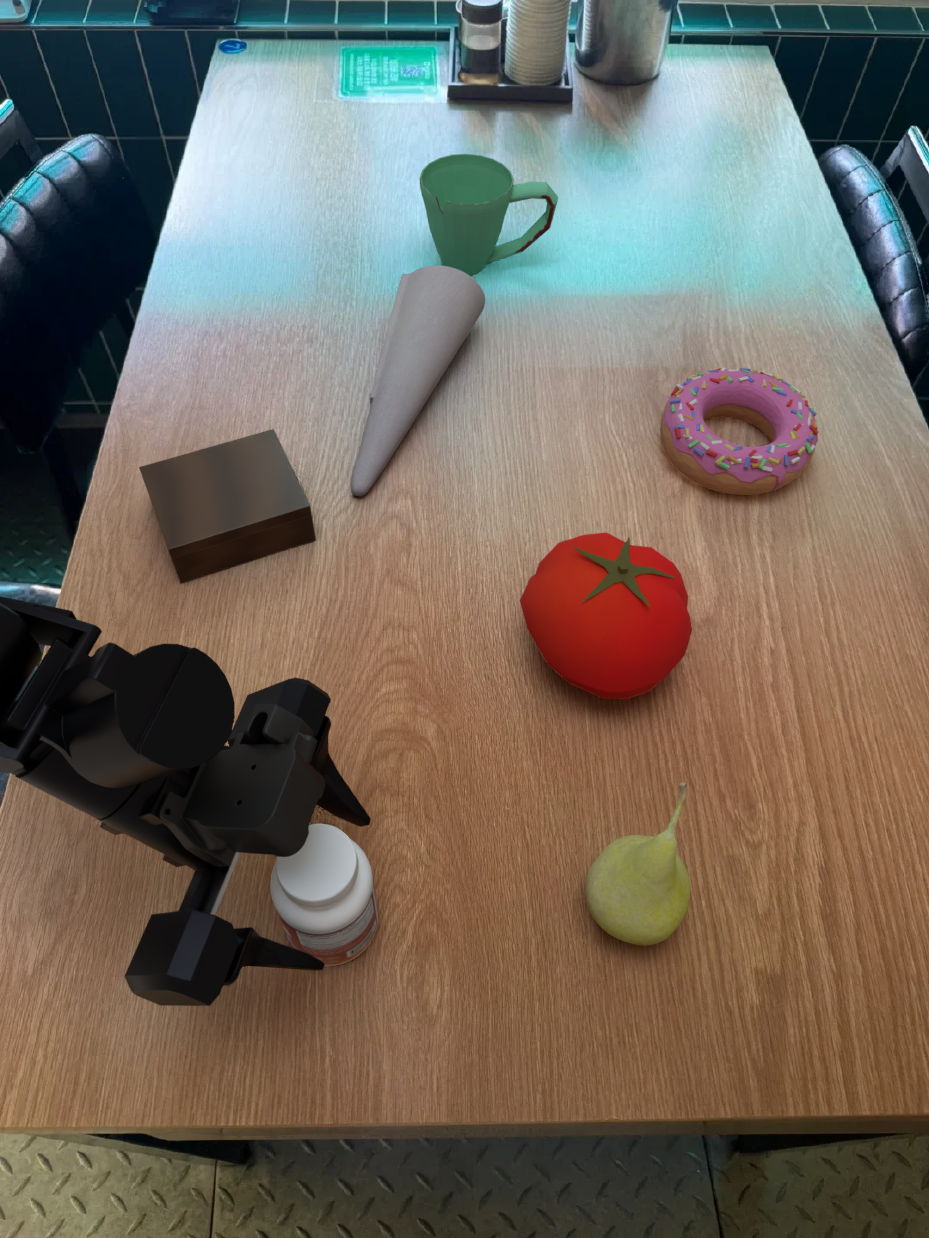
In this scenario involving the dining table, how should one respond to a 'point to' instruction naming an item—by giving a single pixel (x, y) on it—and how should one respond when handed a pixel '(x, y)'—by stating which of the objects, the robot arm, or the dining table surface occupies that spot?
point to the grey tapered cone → (414, 359)
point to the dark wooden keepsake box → (228, 504)
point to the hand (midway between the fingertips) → (344, 892)
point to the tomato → (608, 615)
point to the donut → (749, 401)
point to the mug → (477, 209)
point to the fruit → (640, 885)
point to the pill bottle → (326, 896)
